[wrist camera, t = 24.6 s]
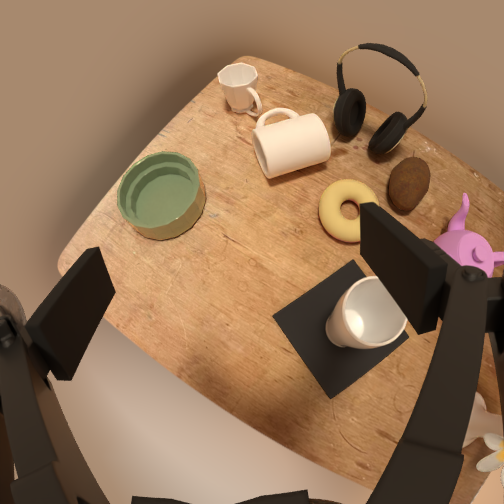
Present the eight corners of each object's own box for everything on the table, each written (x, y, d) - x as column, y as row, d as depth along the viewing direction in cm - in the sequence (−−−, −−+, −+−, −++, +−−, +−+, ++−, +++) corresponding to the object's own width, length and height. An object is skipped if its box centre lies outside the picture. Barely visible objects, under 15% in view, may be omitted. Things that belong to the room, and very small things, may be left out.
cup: (247, 88, 58) (243, 57, 50) (277, 117, 55) (277, 84, 47) (216, 103, 57) (209, 73, 50) (245, 134, 54) (240, 102, 46)
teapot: (458, 327, 41) (490, 318, 32) (401, 262, 45) (424, 241, 36) (493, 275, 42) (524, 258, 34) (442, 216, 47) (466, 190, 38)
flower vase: (457, 477, 32) (559, 524, 9) (385, 419, 37) (489, 463, 14) (503, 410, 35) (616, 414, 11) (439, 347, 40) (561, 320, 16)
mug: (327, 170, 51) (334, 139, 43) (270, 188, 50) (268, 158, 43) (297, 118, 55) (299, 87, 47) (245, 134, 54) (240, 102, 47)
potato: (376, 203, 48) (387, 183, 42) (394, 161, 50) (405, 139, 45) (412, 223, 47) (427, 205, 41) (427, 179, 49) (441, 159, 43)
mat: (330, 398, 39) (330, 399, 39) (272, 316, 44) (272, 315, 43) (408, 337, 41) (409, 336, 41) (352, 260, 45) (353, 259, 45)
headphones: (339, 105, 55) (354, 19, 36) (408, 144, 52) (446, 63, 33) (316, 132, 53) (328, 39, 34) (391, 174, 50) (433, 90, 31)
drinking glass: (347, 293, 43) (380, 260, 29) (377, 331, 41) (422, 315, 27) (309, 323, 43) (326, 304, 28) (339, 362, 40) (370, 362, 26)
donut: (312, 237, 49) (371, 253, 46) (309, 228, 45) (374, 245, 42) (328, 179, 51) (384, 193, 48) (327, 166, 46) (388, 181, 43)
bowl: (148, 256, 48) (136, 244, 43) (119, 196, 52) (106, 181, 47) (220, 210, 49) (215, 194, 45) (183, 156, 53) (175, 138, 49)
